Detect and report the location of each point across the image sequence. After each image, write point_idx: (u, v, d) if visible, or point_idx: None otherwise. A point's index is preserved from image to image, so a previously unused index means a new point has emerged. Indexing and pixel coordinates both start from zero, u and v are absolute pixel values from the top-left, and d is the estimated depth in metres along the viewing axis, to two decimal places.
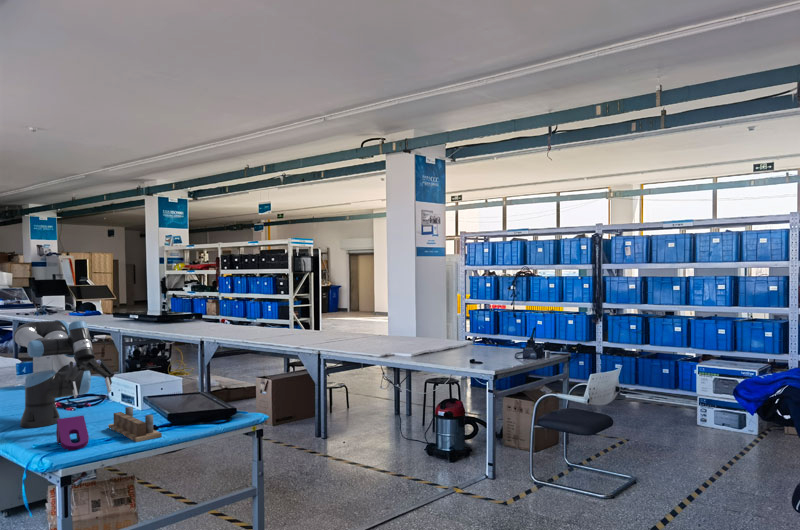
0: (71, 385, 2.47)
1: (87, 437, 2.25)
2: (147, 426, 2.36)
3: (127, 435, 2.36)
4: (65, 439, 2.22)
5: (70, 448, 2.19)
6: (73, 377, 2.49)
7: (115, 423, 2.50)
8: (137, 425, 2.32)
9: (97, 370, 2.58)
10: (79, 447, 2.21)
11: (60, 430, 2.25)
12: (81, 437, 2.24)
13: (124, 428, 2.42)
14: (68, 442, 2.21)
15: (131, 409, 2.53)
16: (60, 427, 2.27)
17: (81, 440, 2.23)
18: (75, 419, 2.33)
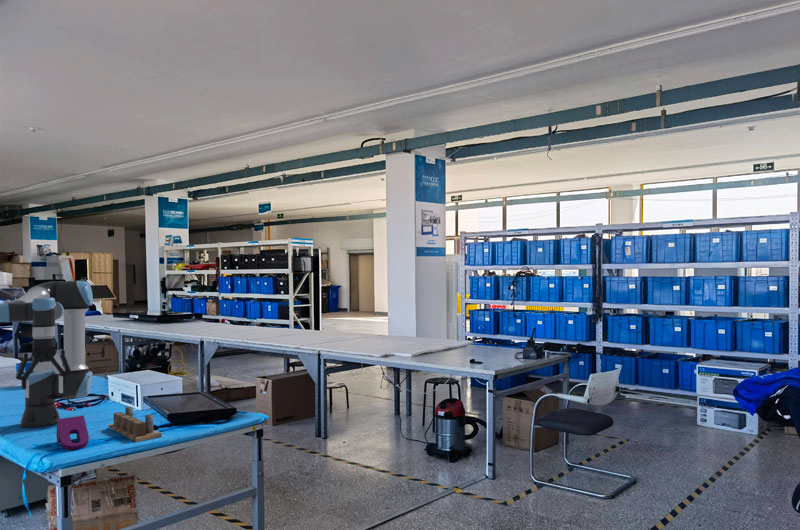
0: (24, 384, 2.15)
1: (87, 437, 2.25)
2: (147, 426, 2.36)
3: (127, 435, 2.36)
4: (65, 439, 2.22)
5: (70, 448, 2.19)
6: (27, 374, 2.16)
7: (115, 423, 2.50)
8: (137, 425, 2.32)
9: (53, 364, 2.23)
10: (79, 447, 2.21)
11: (60, 430, 2.25)
12: (81, 437, 2.24)
13: (124, 428, 2.42)
14: (68, 442, 2.21)
15: (131, 409, 2.53)
16: (61, 427, 2.27)
17: (81, 440, 2.23)
18: (75, 419, 2.32)
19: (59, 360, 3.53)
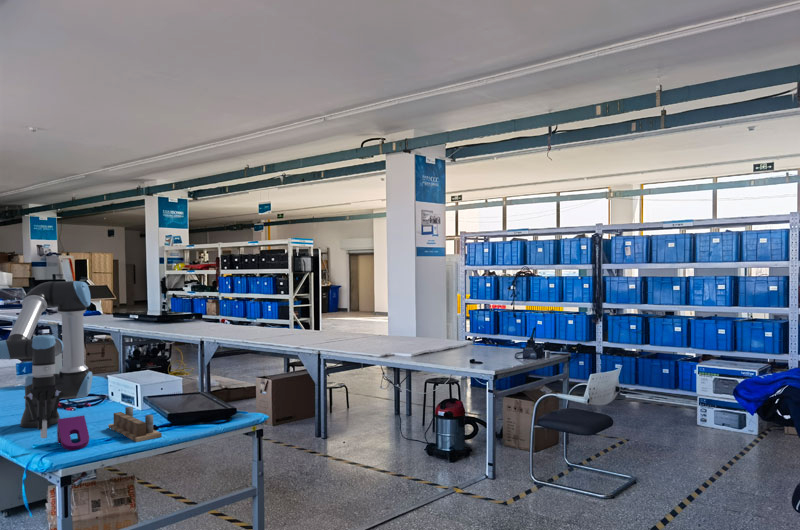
0: (40, 425, 2.19)
1: (87, 437, 2.25)
2: (147, 426, 2.36)
3: (127, 435, 2.36)
4: (66, 439, 2.22)
5: (70, 448, 2.19)
6: (40, 415, 2.18)
7: (115, 423, 2.50)
8: (137, 425, 2.32)
9: (46, 404, 2.21)
10: (79, 447, 2.21)
11: (61, 430, 2.25)
12: (81, 437, 2.24)
13: (124, 428, 2.42)
14: (69, 442, 2.21)
15: (131, 409, 2.53)
16: (61, 427, 2.27)
17: (81, 440, 2.23)
18: (76, 419, 2.33)
19: (59, 360, 3.53)
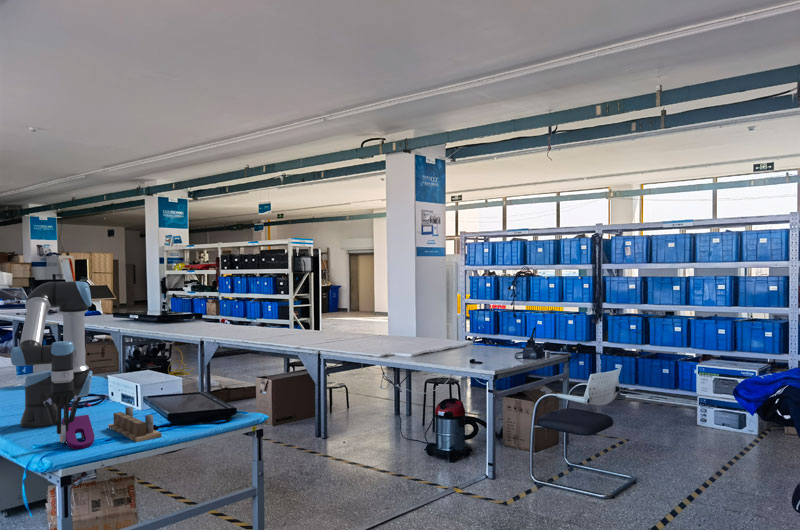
0: (59, 429, 2.23)
1: (93, 436, 2.26)
2: (147, 426, 2.36)
3: (127, 435, 2.36)
4: (71, 438, 2.23)
5: (76, 447, 2.20)
6: (59, 419, 2.23)
7: (115, 423, 2.50)
8: (137, 425, 2.32)
9: (64, 409, 2.25)
10: (85, 446, 2.22)
11: None
12: (87, 436, 2.25)
13: (124, 428, 2.42)
14: (74, 441, 2.22)
15: (131, 409, 2.53)
16: None
17: (87, 439, 2.24)
18: (80, 418, 2.33)
19: None
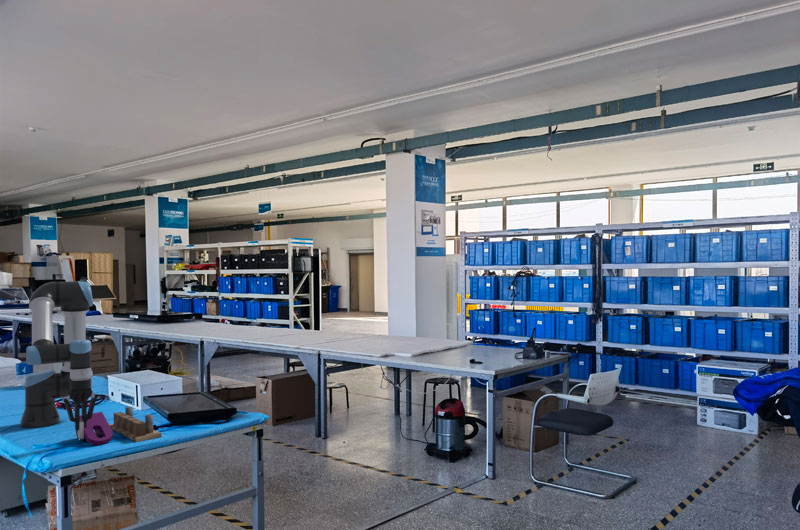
0: (77, 426, 2.28)
1: (111, 432, 2.32)
2: (147, 426, 2.36)
3: (127, 435, 2.36)
4: (91, 434, 2.27)
5: (97, 443, 2.26)
6: (78, 416, 2.28)
7: (115, 423, 2.50)
8: (137, 425, 2.32)
9: (82, 406, 2.30)
10: (105, 442, 2.27)
11: None
12: (105, 432, 2.31)
13: (124, 428, 2.42)
14: (94, 437, 2.27)
15: (131, 409, 2.53)
16: None
17: (106, 435, 2.29)
18: (95, 415, 2.38)
19: None
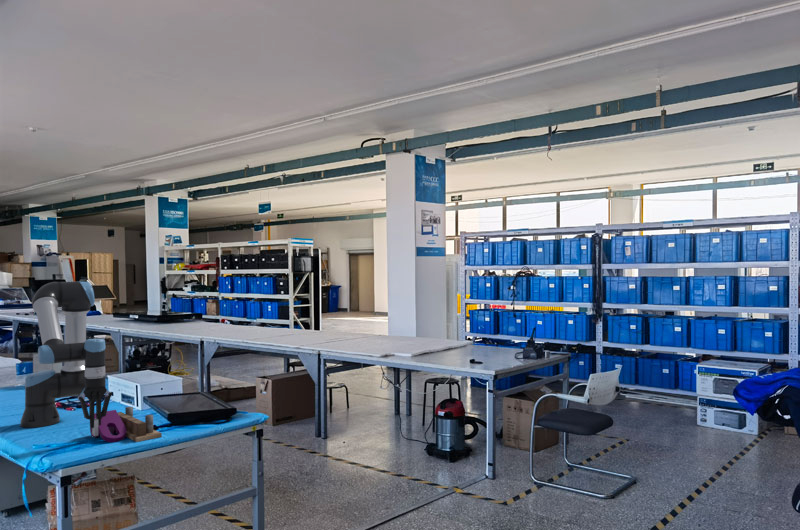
0: (92, 423, 2.32)
1: (125, 429, 2.36)
2: (147, 426, 2.36)
3: (127, 435, 2.36)
4: (105, 431, 2.31)
5: (111, 440, 2.29)
6: (92, 414, 2.32)
7: None
8: (137, 425, 2.32)
9: (97, 403, 2.34)
10: (119, 439, 2.31)
11: None
12: (119, 430, 2.35)
13: None
14: (109, 434, 2.30)
15: (131, 409, 2.53)
16: None
17: (120, 432, 2.33)
18: (109, 413, 2.42)
19: None
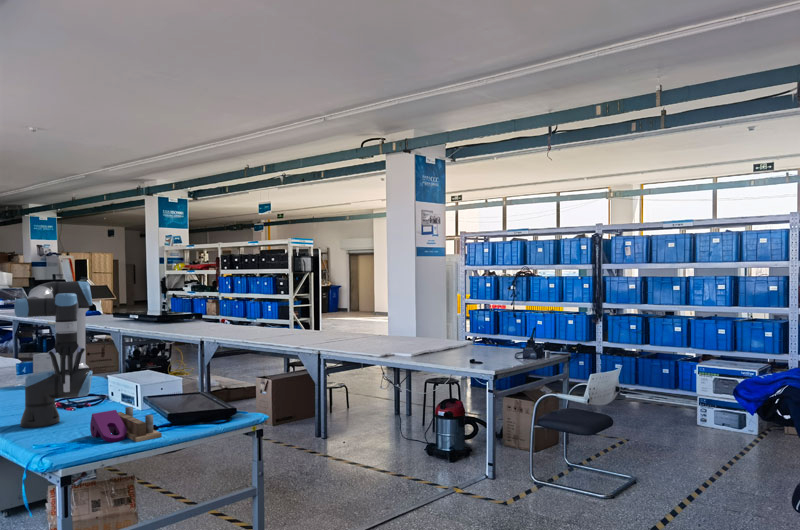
0: (63, 379, 2.27)
1: (125, 429, 2.36)
2: (147, 426, 2.36)
3: (127, 435, 2.36)
4: (105, 431, 2.31)
5: (112, 440, 2.29)
6: (63, 369, 2.26)
7: None
8: (137, 425, 2.32)
9: (68, 359, 2.28)
10: (120, 439, 2.31)
11: (98, 424, 2.34)
12: (120, 430, 2.35)
13: None
14: (109, 434, 2.30)
15: (131, 409, 2.53)
16: (98, 421, 2.35)
17: (121, 432, 2.33)
18: (109, 413, 2.42)
19: (59, 360, 3.53)
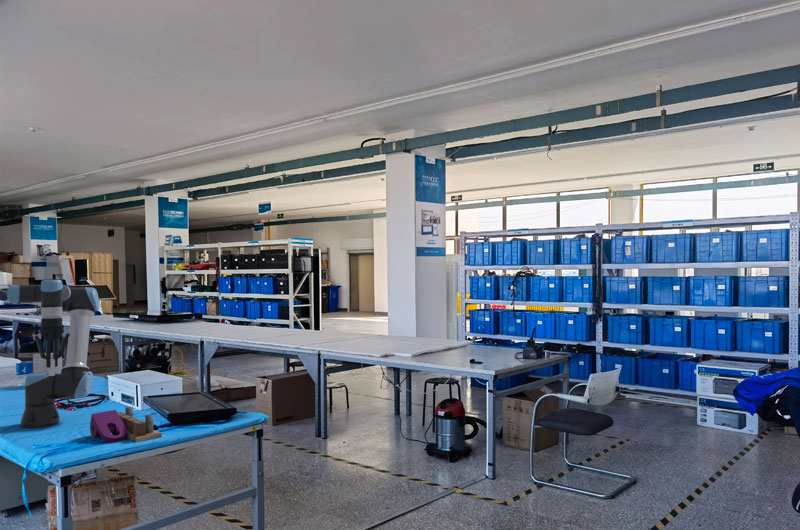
0: (48, 363, 2.33)
1: (125, 429, 2.36)
2: (147, 426, 2.36)
3: (127, 435, 2.36)
4: (106, 431, 2.31)
5: (112, 440, 2.29)
6: (49, 354, 2.32)
7: None
8: (137, 425, 2.32)
9: (54, 344, 2.35)
10: (120, 439, 2.31)
11: (98, 424, 2.34)
12: (120, 430, 2.35)
13: None
14: (109, 434, 2.30)
15: (131, 409, 2.53)
16: (97, 421, 2.35)
17: (121, 432, 2.33)
18: (109, 413, 2.42)
19: (59, 360, 3.53)
